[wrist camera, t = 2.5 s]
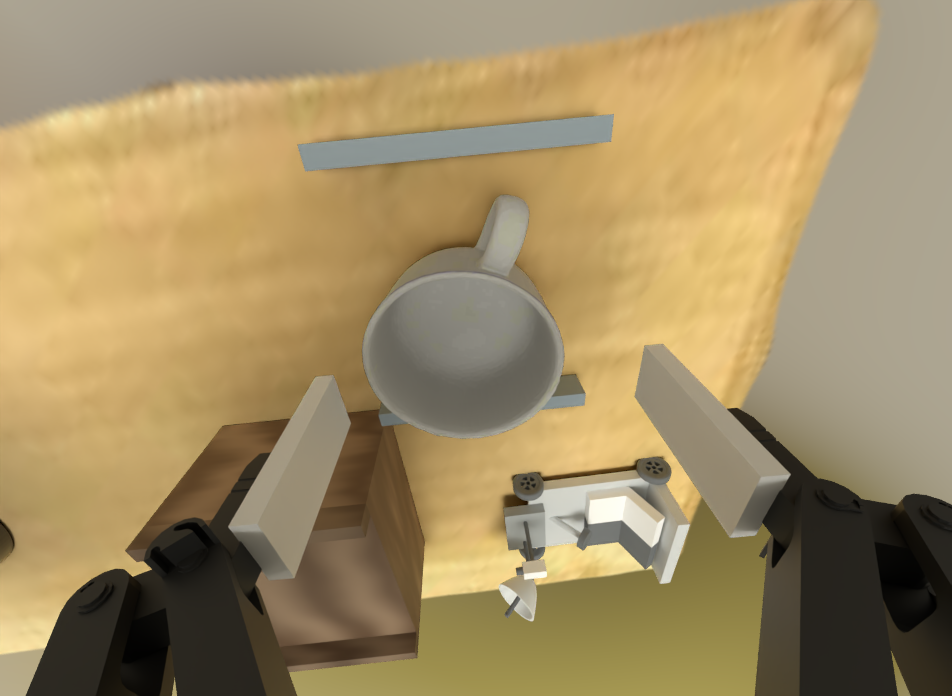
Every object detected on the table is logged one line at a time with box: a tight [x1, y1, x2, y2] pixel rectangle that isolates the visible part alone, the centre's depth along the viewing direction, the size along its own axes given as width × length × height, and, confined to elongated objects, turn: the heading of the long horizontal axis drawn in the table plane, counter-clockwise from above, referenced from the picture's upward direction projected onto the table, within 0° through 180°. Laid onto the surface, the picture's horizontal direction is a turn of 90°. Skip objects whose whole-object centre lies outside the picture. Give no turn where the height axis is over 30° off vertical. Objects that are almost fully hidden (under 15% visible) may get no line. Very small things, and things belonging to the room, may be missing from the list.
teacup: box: [362, 195, 564, 439], centre depth 22 cm, size 14×11×8 cm
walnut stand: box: [125, 410, 425, 672], centre depth 31 cm, size 14×20×10 cm
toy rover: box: [499, 457, 690, 621], centre depth 35 cm, size 18×10×12 cm
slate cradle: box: [298, 114, 614, 426], centre depth 24 cm, size 16×19×2 cm
